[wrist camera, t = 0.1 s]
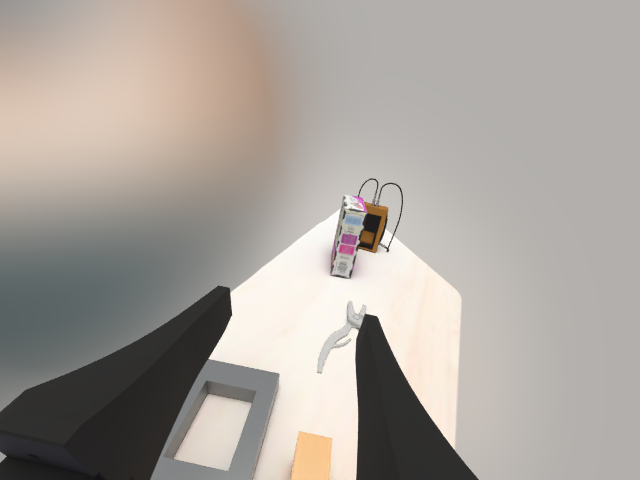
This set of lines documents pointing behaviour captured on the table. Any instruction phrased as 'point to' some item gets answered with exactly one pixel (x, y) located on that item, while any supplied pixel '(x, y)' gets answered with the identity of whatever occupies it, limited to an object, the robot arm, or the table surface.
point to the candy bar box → (348, 235)
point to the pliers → (341, 333)
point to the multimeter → (375, 223)
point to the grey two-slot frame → (261, 390)
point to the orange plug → (311, 457)
